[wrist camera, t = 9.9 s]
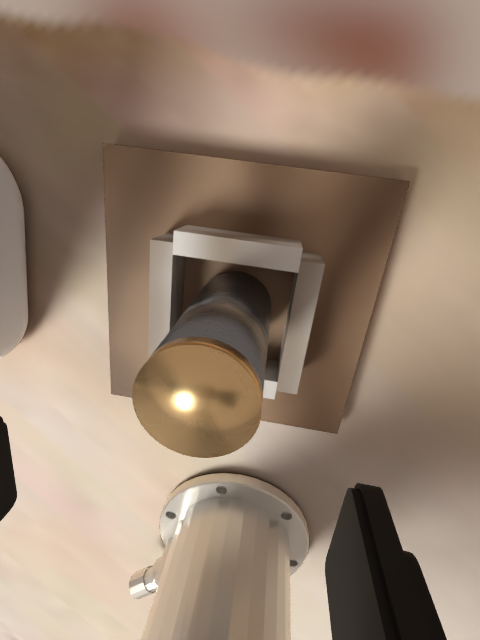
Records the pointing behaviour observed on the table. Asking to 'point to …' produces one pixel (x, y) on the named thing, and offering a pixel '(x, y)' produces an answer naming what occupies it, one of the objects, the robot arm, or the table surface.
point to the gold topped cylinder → (209, 370)
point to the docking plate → (249, 264)
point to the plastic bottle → (12, 264)
